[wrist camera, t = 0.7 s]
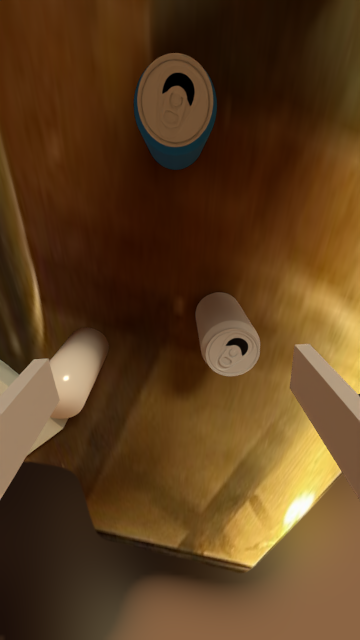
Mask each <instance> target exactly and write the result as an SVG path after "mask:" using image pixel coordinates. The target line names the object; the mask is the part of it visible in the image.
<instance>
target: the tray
mask: <svg viewBox="0 0 360 640" xmlns="http://www.w3.org/2000/svg"><path fill="white" fill-rule="evenodd" d="M18 376H19V374H18V373H17V372H15V371H14V370H13V369H11V368H10V367H9V366H8V365H6V364H5V363H4V362H3V361H1V360H0V396H1V394H2V393H3V392H4V391H5V390H6V389H7V388H8V387H9V386H10V385H11V384H12V383H13V382H14V380H15V379H16V378H17V377H18ZM67 420H68V418H65V419H57V418H52V417H50V418H49V419H48V421H47V423H46V424H45V426H44V428H43V429H42V431H41V433H40V434H39V436H38V438H37V439H36V441H35V443H34V444H33V446H32V448H31V449H30V451H29V453H28V454H30V453H31V452H32V451H34V450H35V449H36V448H38V447H39V446H40V445H42V444H43V443H44V442H46V441H47V440H48V439H50V438H51V437H52V436H54V435H55V434H56V433H58V432H59V431H60V430H62V429H63V428H64V426H65V424H66V422H67ZM28 454H27V455H28Z"/></svg>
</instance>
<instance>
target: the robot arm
mask: <svg viewBox="0 0 360 640" xmlns="http://www.w3.org/2000/svg"><path fill="white" fill-rule="evenodd" d="M290 389H291V391H292V392H293V394H294V395H295V397H296V399H297V400H298V402H299V403H300V405H301V407H302V408H303V410H304V411H305V413H306V415H307V416H308V418H309V420H310V421H311V423H312V424H313V426H314V428H315V429H316V431H317V432H318V434H319V436H320V437H321V439H322V440H323V442H324V444H325V445H326V447H327V449H328V450H329V452H330V453H331V455H332V457H333V458H334V460H335V461H336V463H337V465H338V466H339V468H340V469H341V471H342V473H343V474H344V476H345V477H346V479H347V481H348V482H349V484H350V486H351V487H352V488H353V490H354V492H355V494H356V495H357V497H358V498H359V500H360V394H357V393H356V392H355V391H354V390H353V389H352V388H351V387H350V386H349V385H348V384H347V383H346V382H345V381H344V379H343V378H342V377H341V376H340V375H339V374H338V373H337V372H336V371H335V370H334V369H333V368H332V367H331V366H330V365H329V364H328V363H327V362H326V361H325V360H324V359H323V358H322V357H321V356H320V355H319V353H318V352H317V351H316V350H315V349H314V348H313V347H312V346H311V345H310V344H298V345H295V347H294V355H293V364H292V373H291V382H290ZM59 401H60V399H59V396H58V392H57V388H56V385H55V381H54V378H53V374H52V370H51V367H50V363H49V359H34V360H33V361H32V362H31V363H30V364H29V365H28V367H27V368H26V369H25V370H24V371H23V372H22V373H21V374H20V375H19V376H18V377H17V378H16V379H15V380H14V382H13V383H12V384H11V385H10V386H9V387H8V388H7V389H6V390H5V391H4V392H3V393H2V394H1V396H0V499H1V498H2V496H3V494H4V492H5V491H6V489H7V488H8V486H9V484H10V483H11V481H12V479H13V478H14V476H15V474H16V473H17V471H18V469H19V468H20V466H21V464H22V463H23V461H24V459H25V458H26V456H27V454H28V453H29V451H30V449H31V448H32V446H33V444H34V443H35V441H36V439H37V438H38V436H39V434H40V433H41V431H42V429H43V428H44V426H45V424H46V423H47V421H48V419H49V418H50V416H51V414H52V413H53V411H54V409H55V408H56V406H57V404H58V403H59Z"/></svg>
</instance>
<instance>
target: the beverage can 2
mask: <svg viewBox="0 0 360 640" xmlns="http://www.w3.org/2000/svg"><path fill="white" fill-rule="evenodd" d="M195 317H196V323H197V329H198V335H199V341H200V348H201V353H202V357H203V359H204V361H205V362H206V363H207V364H208V365H209V366H210V368H211V369H212V370H213V371H215V372H216V373H218V374H221V375H224V376H237V375H241V374H243V373H245V372H247V371H249V370H250V369H251V368H252V367H253V366H254V365H255V364H256V362H257V360H258V358H259V355H260V339H259V336H258V334H257V332H256V331H255V329H254V327H253V326H252V324H251V323H250V321H249V319H248V318H247V316H246V314H245V313H244V311H243V310H242V308H241V306H240V305H239V303H238V302H237V300H236V299H235V298H234V297H233V296H231V295H229V294H227V293H222V292H216V293H212V294H209V295H207V296H205V297H204V298H203V299H202V300H201V301H200V302H199V304H198V306H197V308H196V313H195Z"/></svg>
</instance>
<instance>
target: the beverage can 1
mask: <svg viewBox="0 0 360 640" xmlns="http://www.w3.org/2000/svg"><path fill="white" fill-rule="evenodd" d="M216 112H217V99H216V93H215V89H214V86H213V83H212V81H211V79H210V77H209V75H208V73H207V72H206V71H205V69H204V68H203V67H202V66H201V65H200V64H199V63H198V62H197V61H196V60H194V59H193V58H191V57H189V56H187V55H185V54H180V53H170V54H166V55H163V56H161V57H159V58H157V59H156V60H155V61H153V62H152V63H151V64H150V65H149V66H148V67H147V68H146V69H145V71H144V72H143V74H142V75H141V77H140V79H139V81H138V84H137V87H136V90H135V95H134V114H135V119H136V123H137V126H138V128H139V130H140V132H141V134H142V136H143V138H144V141H145V143H146V145H147V147H148V149H149V151H150V153H151V155H152V156H153V158H154V159H155V160H156V161H157V162H158V163H159V164H160V165H162V166H163V167H165V168H168V169H173V170H179V169H183V168H186V167H188V166H190V165H191V164H192V163H194V162H195V161H196V160H197V158H198V157H199V155H200V153H201V151H202V149H203V147H204V145H205V143H206V141H207V139H208V137H209V135H210V133H211V131H212V128H213V126H214V122H215V119H216Z"/></svg>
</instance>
